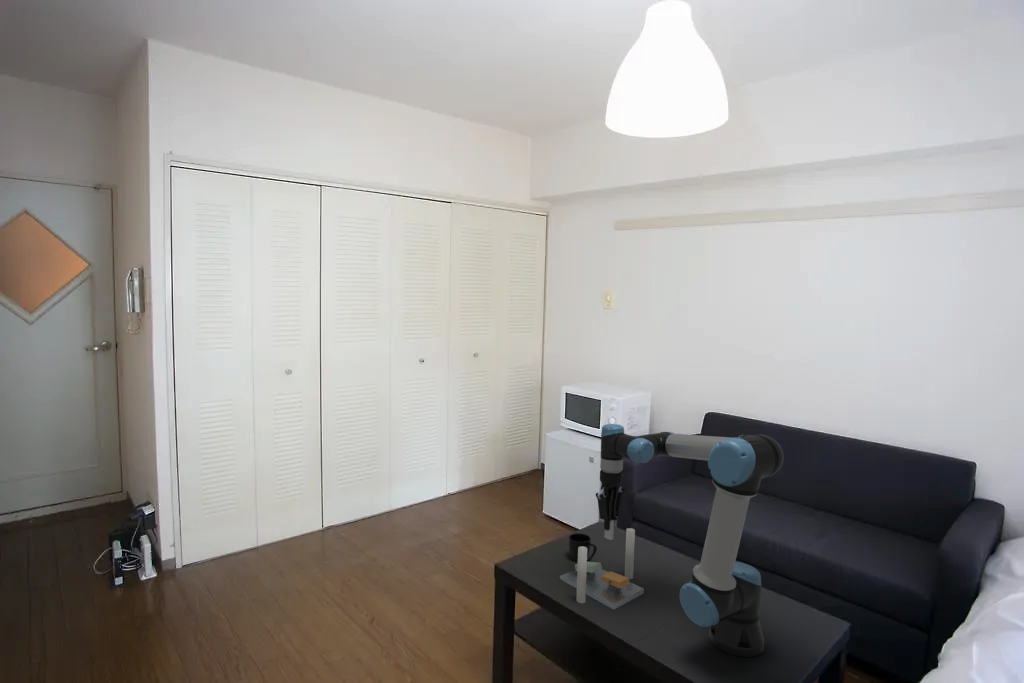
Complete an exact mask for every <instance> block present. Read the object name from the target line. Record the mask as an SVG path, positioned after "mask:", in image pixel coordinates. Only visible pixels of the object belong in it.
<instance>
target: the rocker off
mask: <svg viewBox="0 0 1024 683" xmlns="http://www.w3.org/2000/svg"><path fill="white" fill-rule="evenodd" d="M607 572H608V573H605V574H603V575H601V581H602V582H604V583H607V584H610V585H612V586H615V587H617V588H622V587H624V586H626V585H629V582H630V579H629V578H628V577H625V575H622V574H619V573H616V572H614V571H607Z"/></svg>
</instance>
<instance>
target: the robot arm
mask: <svg viewBox="0 0 1024 683" xmlns="http://www.w3.org/2000/svg"><path fill="white" fill-rule="evenodd" d="M784 455H785V454H784V450H783V449H782V446H781V445H780V444H779V442H778V441H776V439H774V438H772V437H771V436H769V435H766V434H761V433H760V434H751V435H750V434H742V435H741V434H740V435H739V436H738V437H727V436H715V435H714V436H712V435H699V434H697V435H696V434H684V433H682V434H681V433H675V432H672V431H661V432H656V433H651V434H641V435H636V436H635V435H630V434H627V433H625V427H624V426H623V425H621V424H616V423H608V424H607V423H606V424H603V425H602V426H601V434H600V464H599V465H600V466H599V467H600V470H599V481H600V483H601V486H600V491H599V492H596V493H595V497H596V499H597V506H598V513H599V514H598V515H599V519H601V520H603V522H604V523H603V527H604V528H603V529H604V537H603V538H604V539H607V540H609V541H612V540H614V530H615V524H616V523H615V521H617V520H619V518H618V517H619V516H620V512H621V506H622V502H623V498H624V497H623V495H624V493H625V488H624V487H622V486H621V484H622V482H623V469H624V458H626V459H627V460H631V461H633V462H635V463H642V464H647V463H648V462H649V461H651V460H652V459H653V458H655V457H670V458H671V457H673V458H681V459H690V460H700V461H707V466H708V469H709V470H710V476H712V479H711V482H712V484H713V485H714V486H715V488H716V491H715V494H714V499H713V504H712V507H711V508H712V509H711V512H710V518H709V521H708V522H709V523H708V527H707V532H706V537H705V541H704V545H703V549H702V553H701V554H702V555H701V558H700V562H699V564H696V565H695V566H694V567H693V568H692V571H691V572H692V573H691V578H690V581H689V582H686V583H684V584H683V585H682V587H680V590H679V602H680V604H681V607H682V609H683V611H684V613H685V615H686V616H687V617H688V618H689V620H690V621H692V623H694V624H695V625H697V626H699V627H703V628H704V627H705V628H708V627H709V634H708V636H709V640H710V642H711V643H712V644H713V645H714V646H715V647H716V648H718V649H719V650H721V651H723V652H725V653H727V654H730V655H733V656H737V657H743V658H752V657H757V656H760V655H761V654H763V652H764V651H765V637H764V634H763V631H762V630H763V629H762V627H761V623H760V610H761V609H760V607H761V595H762V593H761V591H762V589H761V588H762V586H763V585H762V575H761V573H760V571H759V570H758V569H757V568H755V567H754V566H752V565H749V564H747V563H744V562H741V561H737V560H736V559H737V556H738V552H739V547H740V542H741V540H742V533H743V530H744V525H745V522H746V516H747V512H748V508H749V504H750V500H751V499H752V498H753V497H756V496H757V495H758V493H759V489H760V485H761V482H762V479H766V478H769V477H772V476H774V475H776V473H778V472H779V471H780V470H781V468H782V466H783V463H784V459H785V458H784Z"/></svg>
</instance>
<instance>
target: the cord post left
mask: <svg viewBox="0 0 1024 683" xmlns="http://www.w3.org/2000/svg"><path fill="white" fill-rule="evenodd" d="M587 560H588V559H587V547H584V546H580V547H578V562H577V564H578V567H577V589H576V597H575V598H576V602H577V603H579V604H585V603H586V600H587V599H586V597H587V594H586V573H587Z"/></svg>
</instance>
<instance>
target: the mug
mask: <svg viewBox="0 0 1024 683" xmlns="http://www.w3.org/2000/svg"><path fill="white" fill-rule="evenodd" d="M580 546H584V547H587V562H592V559H594V556H595V555H596V553H597V550H598V548H597V547H598V546H597V545H596V544H594V543H591V537H590V536H589V535H587V534H584V533H572V534H570V535H569V536H568V550H569V556H570V558H571V560H572V561H573V562H576V563H578V547H580ZM591 547H592V548H593V549H592V550H593V552H592V554H591V555H590V553H591V552H590V550H591ZM589 555H590V556H589Z"/></svg>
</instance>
